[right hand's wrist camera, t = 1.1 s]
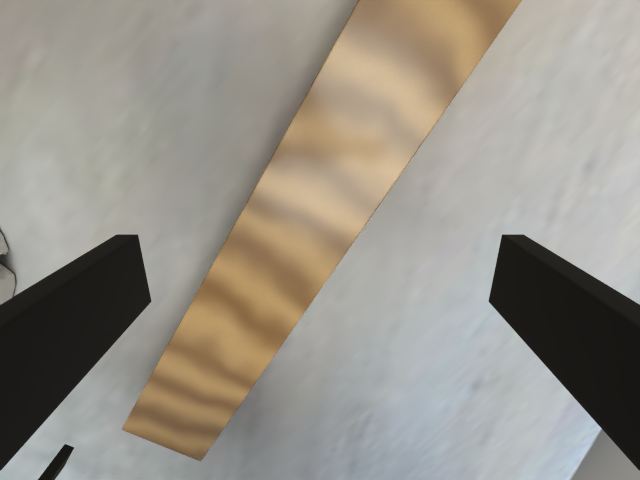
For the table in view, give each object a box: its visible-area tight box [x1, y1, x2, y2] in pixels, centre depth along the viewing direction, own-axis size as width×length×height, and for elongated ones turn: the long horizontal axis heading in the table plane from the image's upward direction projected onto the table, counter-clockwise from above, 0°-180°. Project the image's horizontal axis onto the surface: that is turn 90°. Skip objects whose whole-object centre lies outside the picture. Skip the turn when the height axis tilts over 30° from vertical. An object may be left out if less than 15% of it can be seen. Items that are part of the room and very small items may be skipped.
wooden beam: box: [122, 0, 522, 461], centre depth 31 cm, size 74×10×6 cm, turn 148°
